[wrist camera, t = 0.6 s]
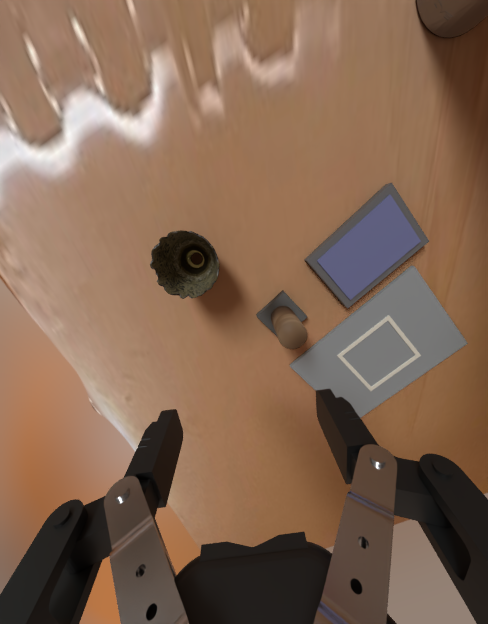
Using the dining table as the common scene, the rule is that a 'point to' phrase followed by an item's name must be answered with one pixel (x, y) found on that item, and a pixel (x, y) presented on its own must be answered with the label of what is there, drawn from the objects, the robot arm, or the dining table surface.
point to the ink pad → (367, 246)
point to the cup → (185, 264)
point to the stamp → (285, 321)
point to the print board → (382, 345)
